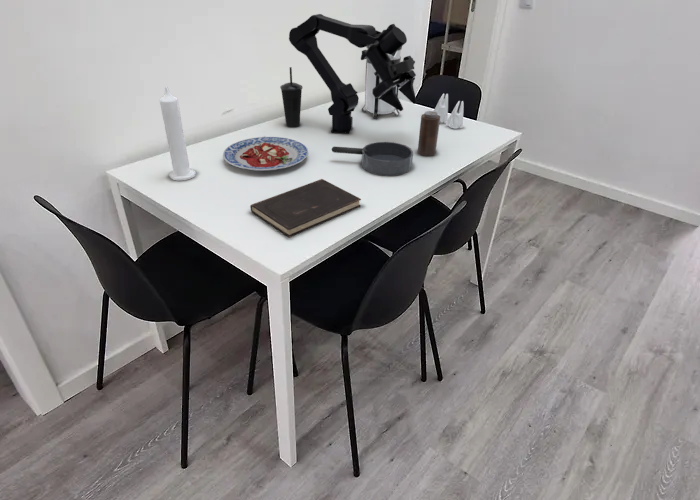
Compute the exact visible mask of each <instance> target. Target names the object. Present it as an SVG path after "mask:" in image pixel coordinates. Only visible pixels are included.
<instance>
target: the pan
mask: <svg viewBox="0 0 700 500" xmlns="http://www.w3.org/2000/svg"><path fill="white" fill-rule="evenodd" d="M362 149H366V150H367V154H365V152H364V150H362V155H361V167H362V168H363V170H365V171H366V172H368V173H370V174H374V175H376V176H377V175H378V176H384V177H394V176H400V175H404V174H407V173H409V172H410V171H411V170H412V166H413V159H414V158H413V157H414V150H412V148H411V147H409V146H407V145H405V144H404V143H403V144H402V143H399V142H394V141H376V142H371V143H368V144H365V145H364V147H362Z"/></svg>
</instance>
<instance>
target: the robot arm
mask: <svg viewBox="0 0 700 500" xmlns="http://www.w3.org/2000/svg"><path fill="white" fill-rule="evenodd" d="M384 30H385V31H384V32H383V33H382V31H379V30H377V29H376V27H375V26H374V25H371V24H352V23H348V22H345V21H342V20H338V19H336V18H332V17H329V16H326V15H324V14H322V13H317V14H312V15H311V16H310V17H309V18H307V19H306V20H305V21H303V22H302V23H300V24H299V25H297V26H296V27H293V28H291V29H290V31H289V33H288V41H289V42H290V45H292V46H293V47H294V49H295V50H296V51H298V52H299V53H301V54H303V55H304V56H305V57H306V58H307V59H308V61H309V62H310V64H311V65H312V67H313V68H314V69H315V71H316V72H317V74H318V75H319V77H320V79H322V81H323V83H324V84H325V86H326V87H327V88H328V90H329V91H330V98H331V101H332V104H331V105H330V106H329V107H328V108H327V112H328V114H329V116H331V130H330V133H332V134H333V133H335V134H347V135H348V134H350V133H351V131H352V130H353V123H354V121H353V119H354V118H353V116H352V112H354V111H355V109H356V107H357V106H358V105H359V95H358V91H356V89H355V88H354V85H352V83H351V82H350V83H347V84H346V83H344V82H343V81H342V80H341V79H340V77H339V75H338V74H337V72H336V71H335V70H334V69H333V67H332V65H331V63H330V62H329V61H328V59H327V58H326V57H325V55H324V54H323V51H321V49H320V48H319V45H318V38H317V34H319V32H320V31H322V32H325V33H328V34H331V35H333V36H337V37H341V38H343V39H346V41H348V42H349V43H350V44H352V46H355V47H357V48H359V49H362V48H366V46H370V45H372V46H371V47H370V48H369V49H368V50H367V49H363V50H361V56H360V60H361V61H364V60H366V59H367V58H368V60H369V61H370V63H371V64H372V66H373V68H374V69H375V71H376V72H375V73H374V74H375V76H377V75H378V76H379V77H380V79H381V80H382V82H381V83H379V84H378V85H377V86H376V87H375V88H373V92H372V94H373V95H374V97H375V98H378V97H380V96H381V97H380V98H379V100H380V99H381V100H383V101H385V102H386V103H388V104H390V105H391V106H393V107H395V108H396V109H398V111H399V112H402V111H404V107H403V104H402V103H401V101H400V99H399V96H398V97H397V95H396V86H397V87H398V92H400V93H401V94H403V96H404V97H405V98H407V100H408V101H410V102H411V103H412V104H414V105H416V104H417V102H418V101H417V96H416V93H415V89H414V82H415V80H416V76H417V74H416V72H415V71H414V70H415V64H416V61H415V60H414V57H412V56H411V55H407V56H405V57H403V58H402V59H403V60H401V61H400V62H399V63H397V62H396V61H395V60H391V59H390V58H389V56H388V54H390V55H392V54H394V53H395V52H396V51H397V50H398V49H399V48H400V47H402V48H403V46H404V45H405V44H406V43H407V41H408V38H407V35H406V34H405V32H404V31H403V30H402V29H401V28H399V27H398V26H397V25H396V24H395V23H391V24H389V25H388V26H387V28H386V29H384ZM376 42H379V43H378V44H377V45H376V46H375V45H373V44H374V43H376Z"/></svg>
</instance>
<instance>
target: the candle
mask: <svg viewBox="0 0 700 500" xmlns="http://www.w3.org/2000/svg"><path fill="white" fill-rule="evenodd" d="M159 106H160V110H161V116H162V121H163V126H164V131H165V135H166V140H167V145H168V146H167V147H168V150H169V157H170V160H171V165H172V169H173V170H171V171H170V172H169V178H170V180H173V181H177V182H178V181H180V182H181V181H188V180H191V179H193V178H194V177H195V176H196V170H195V169H193V168H191V167H190V160H189V155H188V149H187V144H186V139H185V132H184V126H183V121H182V116H181V111H180V104H179V99H178V97H176V96H174V95H173V94H172V93H171V92H170V90H169V88H168V86H167V85H166V86H164V95H163V96H161V97H160V99H159Z"/></svg>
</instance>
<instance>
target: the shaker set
mask: <svg viewBox="0 0 700 500" xmlns="http://www.w3.org/2000/svg"><path fill="white" fill-rule="evenodd" d="M464 105H465V104H464V100H462V101H461V100H458V101H457V102H456V104H455V106H454V107H453V110H452V111H451V113H450V114H449V93H446V94H445V93H442V95H441V96H440V97H439V100H438V101H437V104H436V106H435V107H434V109H433V111H434V112H437V113H438V115H439V116H440V123H441V124H443V123H444V122H445V126H447V127H449V128H451V129H456V130H458V129H463V126H464V125H463V124H464V111H465V108H464V107H465V106H464ZM440 123H439V124H440Z"/></svg>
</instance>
